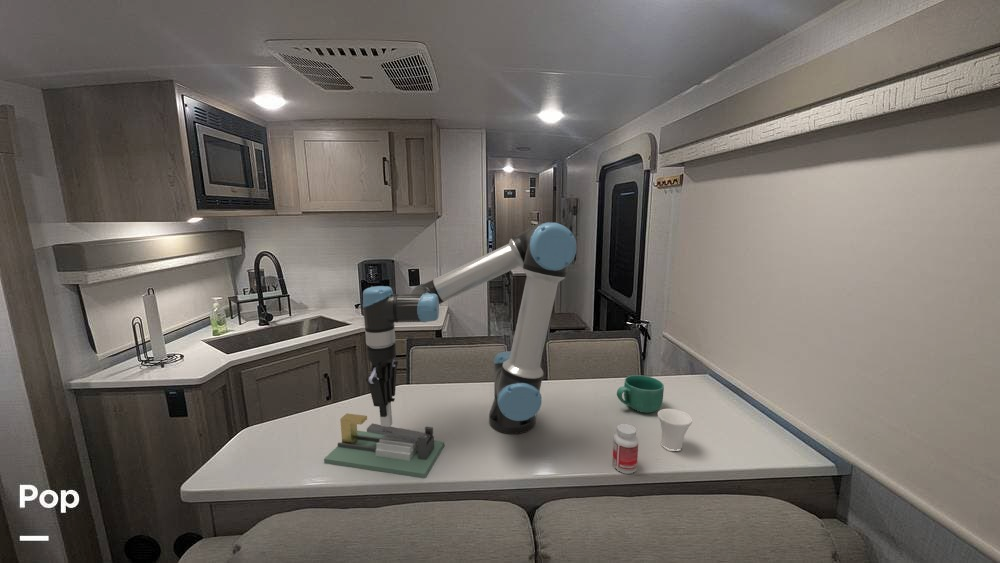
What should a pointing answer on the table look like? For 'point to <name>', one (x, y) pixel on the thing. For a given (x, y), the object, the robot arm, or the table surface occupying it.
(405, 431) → the strap
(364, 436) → the board
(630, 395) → the mug
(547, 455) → the table surface
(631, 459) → the pill bottle
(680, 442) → the cup
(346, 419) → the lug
